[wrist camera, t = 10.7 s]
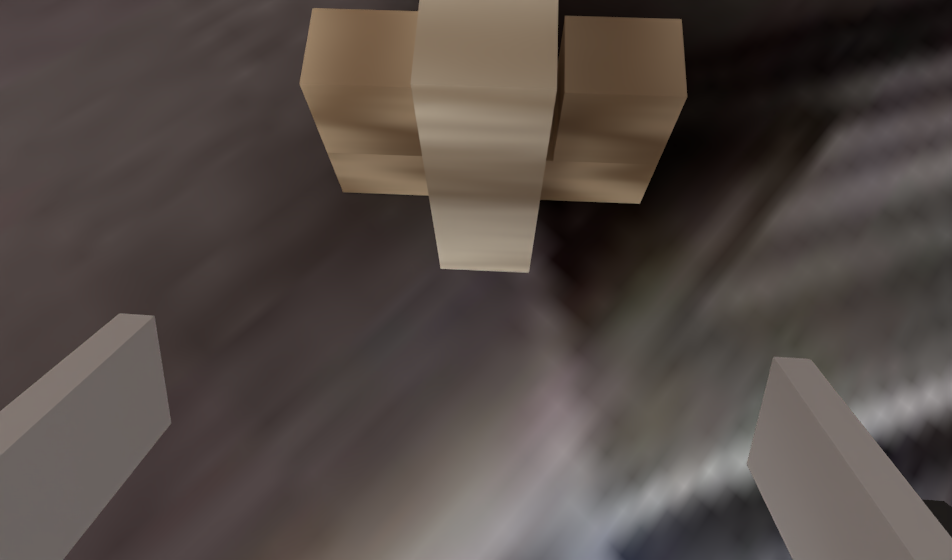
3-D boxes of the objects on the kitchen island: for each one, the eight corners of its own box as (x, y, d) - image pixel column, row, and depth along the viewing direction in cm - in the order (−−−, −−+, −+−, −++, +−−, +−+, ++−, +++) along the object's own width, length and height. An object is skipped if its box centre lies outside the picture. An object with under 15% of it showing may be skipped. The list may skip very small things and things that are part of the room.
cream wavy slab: (529, 272, 23) (557, 88, 14) (440, 268, 23) (410, 83, 14) (537, -4, 28) (562, -284, 18) (462, -6, 28) (450, -286, 18)
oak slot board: (637, 139, 29) (681, 19, 22) (639, 203, 28) (687, 96, 21) (351, 129, 29) (312, 7, 22) (343, 192, 28) (299, 83, 21)
